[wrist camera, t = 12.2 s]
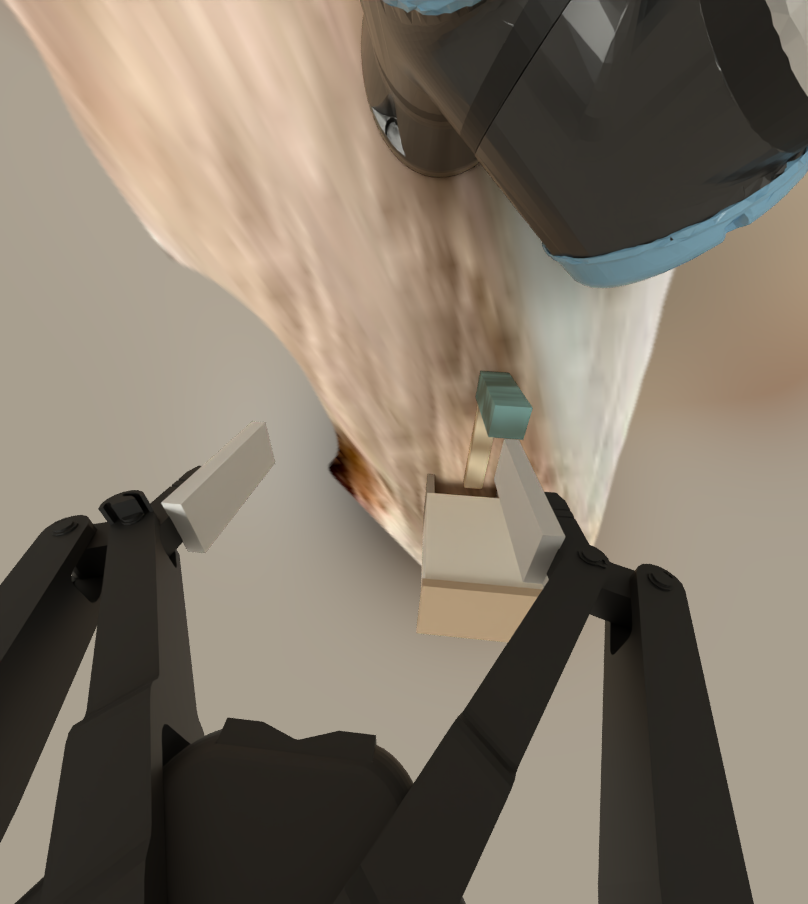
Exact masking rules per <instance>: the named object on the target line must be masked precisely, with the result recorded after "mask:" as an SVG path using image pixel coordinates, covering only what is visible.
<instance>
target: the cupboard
mask: <svg viewBox="0 0 808 904" xmlns="http://www.w3.org/2000/svg"><path fill="white" fill-rule="evenodd" d="M421 579H422V580H421V595H420V603H419V611H418V620H417V633H421V634H430V635H440V636H449V637H459V638H469V639H479V640H489V641H499V642H509V640H510V639H511V637H512V636H513V634H514V633H515V631H516V629H517V628H518V626H519V625H520V623H521V622H522V620H523V619H524V617H525V616H526V614H527V613H528V611H529V609H530V608H531V606H532V605H533V603H534V602H535V600H536V599H537V597H538V596H539V594H540V593H541V591H542V589H543V585H542V584H536V583H525V582H523V581H522V577H521V574H520V570H519V567H518V563H517V559H516V556H515V552H514V549H513V545H512V542H511V538H510V535H509V531H508V527H507V524H506V520H505V517H504V513H503V510H502V506H501V503H500V499H499V496H498V492H497V493H496V497H495V498H488V497H475V496H463V495H450V494H438V493H435V487H434V475H430V474H428V476H427V486H426V496H425V506H424V518H423V548H422V578H421Z"/></svg>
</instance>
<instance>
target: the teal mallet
mask: <svg viewBox="0 0 808 904" xmlns="http://www.w3.org/2000/svg"><path fill="white" fill-rule="evenodd" d="M476 400H477V403H478V405H477V411H476V416H475V422H474V427H473V432H472V438H471V443H470V448H469V454H468V459H467V465H466V470H465V475H464V481H463V482H464V488H476V489H482V486H483V481H484V477H485V473H486V468H487V464H488V460H489V455H490V451H491V447H492V443H493V438H507V439H521V440H523V439H524V435H525V432H526V429H527V425H528V422H529V418H530V415H531V412H532V406H531V405H530V403H529V402H528V400H527V399H526V397H525V396H524V394H523V393H522V391H521V390H520V388H519V387H518V386H517V384H516V383H515V381H514V380H513V378H512V377H511V375H510V374H509V373H506V372H490V371H480V376H479V381H478V387H477V392H476Z"/></svg>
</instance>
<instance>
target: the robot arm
mask: <svg viewBox="0 0 808 904" xmlns="http://www.w3.org/2000/svg"><path fill="white" fill-rule="evenodd" d="M360 2H361V6H362V9H363V13H364V15H363V22H362V35H361V58H362V71H363V79H364V85H365V90H366V95H367V99H368V102H369V106H370V109H371V112H372V114H373V117H374V119H375V122H376V124H377V127H378V129H379V131H380V133H381V135H382V137H383V139H384V141H385V142H386V144H387V145H388V147H389V148H390V150H391V151H392V152H393V153H394V155H395V156H396V157H397V158H398V159H399V160H400V161H401V162H402V163H404V164H405V165H406V166H408V167H409V168H411V169H412V170H414V171H416V172H418V173H421V174H423V175H427V176H432V177H448V176H453V175H457V174H460V173H462V172H465V171H467V170H469V169H470V168H472V167H474V166H475V165H477V164H478V163H479V162H480V163H481V165H482V166H483V167H484V168H485V170H486V171H487V172H488V174H489V175H490V176H491V177H492V179H493V180H494V181H495V182H496V184H497V185H498V186H499V188H500V189H501V190H502V191H503V193H504V194H505V195H506V196H507V198H508V199H509V200H510V202H511V203H512V204H513V205H514V207H515V208H516V209H517V210H518V212H519V213H520V214H521V215H522V217H523V218H524V219H525V221H526V222H527V223H528V224H529V226H530V227H531V228H532V229H533V231H534V232H535V233H536V235H537V236H538V237H539V238H540V240H541V241H542V246H543V248H544V250H545V252H546V253H547V255H548V256H550V257H552V258H553V259H554V260H556V261H558V262H559V263H560V264H561V265H562V266H563V267H564V269H565V270H566V271H567V272H568V273H569V274H570V275H571V276H572V278H573V279H574V280H576V281H577V282H579V283H581V284H583V285H585V286H589V287H593V288H612V287H619V286H624V285H628V284H632V283H636V282H639V281H642V280H645V279H648V278H651V277H654V276H656V275H659V274H661V273H664V272H666V271H668V270H671V269H673V268H675V267H677V266H680V265H682V264H684V263H686V262H688V261H690V260H692V259H694V258H696V257H697V256H699V255H701V254H703V253H704V252H706V251H708V250H710V249H712V248H713V247H715V246H717V245H718V244H720V243H722V242H723V241H724V238H725V234H726V233H727V232H729V231H732V230H734V229H736V228H739V227H743V226H746V225H749V224H751V223H752V222H753V221H755V220H756V219H758V218H759V217H760V216H761V215H763V214H764V213H765V212H767V211H768V210H769V209H771V208H772V207H773V206H774V205H775V204H776V203H778V202H779V201H780V200H781V199H782V198H783V197H784V196H785V195H786V194H787V193H788V192H789V191H790V190H791V189H792V188H793V187H794V186H795V185H796V184H797V183H798V182H799V181H800V180H801V179H802V178H803V177H804V175H805V174H806V172H807V171H808V0H360ZM274 464H275V459H274V456H273V451H272V447H271V443H270V439H269V435H268V431H267V427H266V423H265V422H255V421H252V422H251V423H250V424H249V425H247V426H246V427H245V428H244V429H243V430H242V431H241V432H240V433H238V434H237V435H236V436H235V437H234V438H233V439H232V440H231V441H230V442H228V443H227V444H226V445H225V446H224V447H223V448H222V449H220V450H219V451H218V452H217V453H216V454H215V455H214V456H213V457H212V458H210V459H209V460H208V461H207V462H206V463H205V464H204V465H203V466H197V467H195V468H193V469H192V470H190V471H188V472H186V473H185V474H184V475H183V476H182V477H181V478H180V479H179V480H178V481H176V482H175V483H174V484H172V487H169V488H168V489H167V490H166V491H165V492H163V493H162V494H161V495H160V496H159V497H157V498H156V499H155V500H154V501H153V502H152V503H149V501H148V500H147V498H146V496H145V494H144V493H143V492H142V491H139V490H131V491H126V492H122V493H119V494H117V495H114V496H112V497H110V498H109V499H107V500H106V501H104V502H103V503H102V504H101V505H100V507H99V511H100V512H101V513H102V514H103V516H104V517H105V519H106V520H107V522H105V523H98V524H93V523H92V522H91V521H90V519H89V518H88V517H87V516H83V515H77V516H71V517H68V518H64V519H61V520H59V521H57V522H55V523H53V524H52V525H50V526H49V527H47V528H46V529H45V530H44V531H43V532H41V534H40V535H39V536H38V538H37V539H36V540H35V541H34V543H33V544H32V545H31V546H30V548H29V549H28V550H27V552H26V553H25V554H24V555H23V557H22V558H21V559H20V561H19V562H18V563H17V564H16V566H15V567H14V568H13V569H12V571H11V572H10V573H9V575H8V576H7V577H6V578H5V580H4V581H3V582H2V583H1V585H0V842H1V840H2V839H3V836H4V834H5V832H6V830H7V828H8V826H9V824H10V821H11V820H12V818H13V816H14V814H15V812H16V809H17V807H18V805H19V803H20V800H21V798H22V796H23V794H24V791H25V789H26V787H27V785H28V782H29V780H30V777H31V775H32V773H33V771H34V768H35V766H36V764H37V762H38V759H39V757H40V755H41V753H42V750H43V748H44V746H45V743H46V741H47V739H48V737H49V734H50V732H51V730H52V727H53V725H54V723H55V721H56V718H57V716H58V714H59V711H60V709H61V707H62V704H63V702H64V700H65V697H66V695H67V693H68V691H69V688H70V686H71V684H72V681H73V679H74V677H75V675H76V672H77V670H78V668H79V666H80V663H81V661H82V659H83V656H84V654H85V652H86V650H87V647H88V645H89V643H90V640H91V638H92V636H93V633H94V631H95V629H96V627H97V633H96V640H95V648H94V657H93V664H92V672H91V681H90V688H89V697H88V703H87V711H86V715H85V717H84V719H83V720H82V721H80V722H78V723H77V724H75V725H73V727H72V729H71V730H70V732H69V733H68V738H67V741H66V744H65V751H64V757H63V763H62V769H61V775H60V782H59V788H58V795H57V800H56V807H55V813H54V820H53V825H52V832H51V838H50V844H49V850H48V856H47V863H46V869H45V875H44V877H43V878H42V879H41V880H40V881H39V882H38V883H37V884H35V885H34V886H33V887H32V888H31V889H30V890H29V891H28V892H27V893H26V894H25V895H24V896H22V897H21V898H20V899H19V900H18V901H17V902H16V903H15V904H465V901H464V899H463V897H462V896H463V894H464V892H465V890H466V887H467V885H468V883H469V881H470V879H471V876H472V874H473V872H474V870H475V868H476V866H477V863H478V861H479V859H480V857H481V854H482V852H483V850H484V848H485V846H486V844H487V841H488V839H489V837H490V835H491V833H492V831H493V828H494V826H495V824H496V822H497V820H498V817H499V815H500V813H501V811H502V809H503V807H504V804H505V802H506V800H507V798H508V795H509V793H510V791H511V789H512V786H513V783H514V780H515V776H516V772H517V769H518V766H519V764H520V762H521V760H522V758H523V755H524V753H525V751H526V749H527V747H528V745H529V743H530V740H531V738H532V736H533V734H534V732H535V730H536V728H537V725H538V723H539V721H540V719H541V717H542V715H543V713H544V710H545V708H546V706H547V704H548V702H549V700H550V698H551V695H552V693H553V691H554V689H555V686H556V685H557V682H558V680H559V678H560V676H561V674H562V672H563V669H564V667H565V665H566V663H567V661H568V659H569V657H570V655H571V652H572V650H573V648H574V646H575V644H576V641H577V639H578V637H579V635H580V633H581V631H582V629H583V627H584V625H585V622H586V620H587V618H588V616H589V614H591V615H593V616H596V617H598V618H601V619H604V620H605V646H604V647H605V649H604V684H603V685H604V686H603V689H604V690H603V724H602V725H603V726H602V760H601V798H600V802H601V803H600V836H599V875H598V900H599V901H598V903H599V904H754V903H753V898H752V894H751V889H750V885H749V880H748V875H747V871H746V866H745V862H744V858H743V853H742V848H741V843H740V839H739V835H738V830H737V825H736V821H735V816H734V811H733V807H732V802H731V798H730V793H729V789H728V784H727V780H726V775H725V770H724V766H723V761H722V757H721V752H720V747H719V743H718V738H717V734H716V730H715V725H714V720H713V716H712V711H711V706H710V702H709V697H708V693H707V688H706V684H705V679H704V674H703V670H702V665H701V661H700V656H699V652H698V648H697V643H696V638H695V633H694V629H693V624H692V620H691V616H690V611H689V606H688V601H687V597H686V592H685V590H684V587H683V585H682V583H681V582H680V581H679V580H678V579H677V578H676V577H675V576H673V575H672V574H671V573H669V572H668V571H667V570H665V569H663V568H661V567H659V566H655V565H652V564H642V565H640V566H638V567H637V569H636V570H635V571H634V570H631V569H628V568H625V567H622V566H619V565H616V564H613V563H611V562H609V560H608V558H607V557H606V556H605V554H604V553H603V552H602V551H600V550H599V549H597V548H596V547H594V546H591V545H589V543H588V541H587V540H586V538H585V536H584V534H583V532H582V531H581V529H580V527H579V525H578V523H577V521H576V520H575V519H574V516H573V514H572V512H571V511H570V509H569V507H568V505H567V503H566V502H565V500H564V499H562V498H561V497H560V496H559V495H558V494H557V493H552V492H544V491H543V489H542V487H541V485H540V483H539V481H538V479H537V477H536V475H535V473H534V470H533V468H532V466H531V464H530V462H529V460H528V458H527V456H526V454H525V452H524V450H523V448H522V446H521V443H520V441H519V440H514V439H504V442H503V446H502V450H501V454H500V458H499V462H498V465H497V469H496V473H495V477H494V481H495V485H496V488H497V492H498V496H499V499H500V503H501V506H502V510H503V513H504V517H505V520H506V524H507V527H508V531H509V535H510V538H511V542H512V545H513V549H514V552H515V556H516V559H517V563H518V567H519V570H520V574H521V577H522V581H523V582H525V583H536V584H543V582H544V580H545V578H546V576H548V579H549V580H548V582H547V583H546V585H545V586H544V588H543V589H542V591H541V593H540V594H539V596H538V597H537V599H536V600H535V602H534V603H533V605H532V606H531V608H530V609H529V611H528V613H527V614H526V616H525V617H524V619H523V620H522V622H521V623H520V625H519V626H518V628H517V629H516V631H515V633H514V634H513V636H512V637H511V639H510V640H509V642H508V643H507V645H506V646H505V648H504V649H503V651H502V653H501V654H500V656H499V657H498V659H497V660H496V662H495V663H494V665H493V666H492V668H491V669H490V671H489V673H488V674H487V676H486V677H485V679H484V680H483V682H482V683H481V685H480V686H479V688H478V690H477V691H476V693H475V694H474V696H473V697H472V699H471V700H470V702H469V703H468V705H467V706H466V708H465V709H464V711H463V712H462V713H461V714H460V715H459V716H458V718H457V719H456V720H455V722H454V723H453V724H452V726H451V727H450V729H449V730H448V732H447V734H446V735H445V736H444V738H443V739H442V741H441V742H440V744H439V746H438V747H437V749H436V750H435V752H434V753H433V755H432V756H431V758H430V759H429V761H428V762H427V764H426V765H425V767H424V769H423V770H422V772H421V773H420V775H419V776H418V778H417V779H416V781H415V782H414V783H413V782H412V780H411V778H410V776H409V775H408V773H407V772H406V770H405V769H404V768H403V766H402V765H401V764H400V762H398V760H397V759H396V758H395V757H393V755H391V754H390V753H389V752H387V751H386V750H385V749H383V748H381V747H379V746H377V745H376V735H369V734H361V733H353V732H343V731H336V732H332V733H327V734H323V735H318V736H315V737H309V738H305V739H300V740H297V739H293V738H292V737H290V736H288V735H286V734H284V733H283V732H281V731H279V730H277V729H275V728H273V727H272V726H270V725H268V724H266V723H264V722H260V721H251V720H243V719H235V718H227V720H226V722H225V725H224V727H223V729H221V730H218V731H215V732H213V733H210V734H208V735H206V736H204V732H203V729H202V727H201V724H200V722H199V719H198V715H197V710H196V700H195V692H194V682H193V674H192V664H191V655H190V646H189V637H188V628H187V619H186V610H185V601H184V592H183V583H182V574H181V565H180V556H179V553H178V551H177V550H176V549H177V548H178V546H179V545H180V544H181V543H182V542H183V543H184V545H185V547H186V549H187V551H188V552H199V553H206V552H207V551H208V549H209V548H210V547H211V545H212V544H213V543H214V541H215V540H216V539H217V538H218V536H219V535H220V534H221V532H222V531H223V530H224V528H225V527H226V526H227V525H228V523H229V522H230V521H231V519H232V518H233V517H234V516H235V514H236V513H237V512H238V510H239V509H240V508H241V506H242V505H243V504H244V503H245V501H246V500H247V499H248V497H249V496H250V495H251V494H252V492H253V491H254V490H255V488H256V487H257V486H258V484H259V483H260V482H261V480H262V479H263V478H264V477H265V475H266V474H267V473H268V472H269V470H270V469H271V468H272V466H273V465H274ZM71 575H72V576H71Z"/></svg>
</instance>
